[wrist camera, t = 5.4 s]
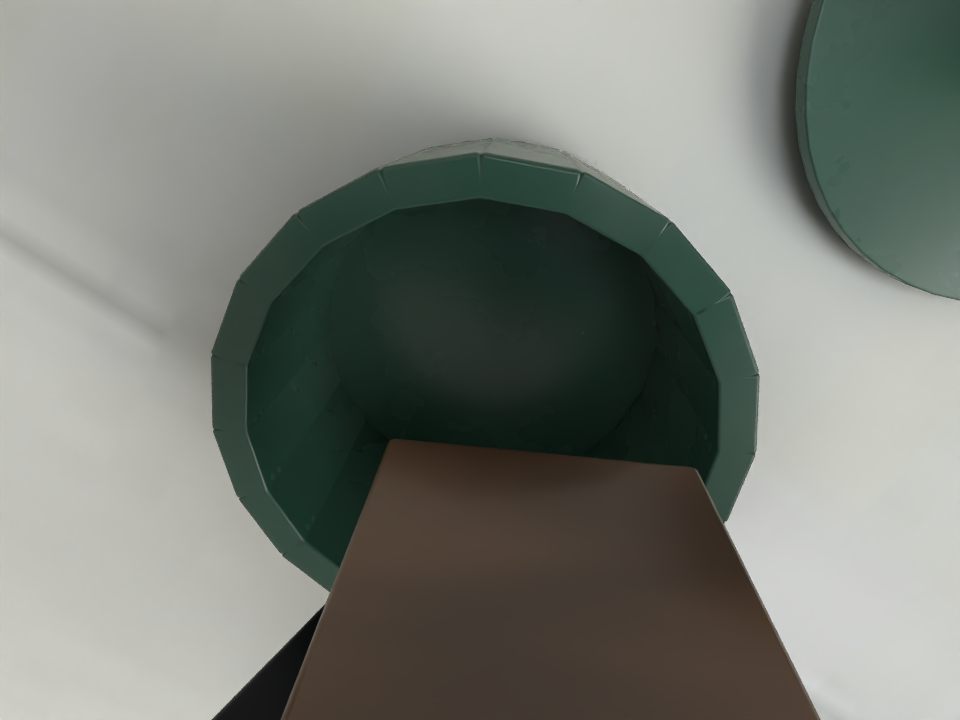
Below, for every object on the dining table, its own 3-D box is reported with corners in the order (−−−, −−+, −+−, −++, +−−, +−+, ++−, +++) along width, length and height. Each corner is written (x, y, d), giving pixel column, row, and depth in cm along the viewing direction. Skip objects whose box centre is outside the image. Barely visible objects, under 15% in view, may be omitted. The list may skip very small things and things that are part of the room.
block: (697, 464, 8) (872, 812, 4) (640, 679, 10) (722, 1068, 6) (389, 435, 8) (266, 744, 4) (386, 652, 10) (298, 1017, 6)
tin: (755, 343, 18) (872, 458, 12) (486, 540, 22) (474, 703, 16) (496, 41, 15) (482, -5, 9) (239, 326, 19) (109, 425, 13)
